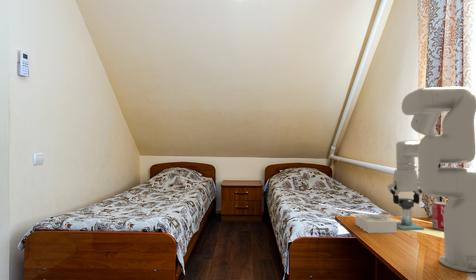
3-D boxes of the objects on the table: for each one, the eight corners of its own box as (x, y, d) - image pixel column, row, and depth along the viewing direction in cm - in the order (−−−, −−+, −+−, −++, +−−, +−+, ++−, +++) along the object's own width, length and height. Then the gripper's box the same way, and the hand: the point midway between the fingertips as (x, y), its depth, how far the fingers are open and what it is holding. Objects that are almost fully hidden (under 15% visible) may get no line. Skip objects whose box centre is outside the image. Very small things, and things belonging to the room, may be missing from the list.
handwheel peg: (409, 222, 144) (408, 198, 144) (417, 226, 137) (416, 200, 138) (396, 223, 144) (395, 198, 144) (403, 226, 137) (403, 200, 137)
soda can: (453, 229, 136) (453, 203, 136) (446, 232, 132) (446, 205, 132) (436, 225, 142) (435, 200, 142) (429, 228, 138) (429, 202, 138)
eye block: (396, 232, 132) (396, 221, 132) (367, 233, 131) (367, 221, 132) (381, 224, 145) (381, 214, 145) (355, 225, 144) (355, 214, 145)
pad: (423, 229, 136) (423, 227, 136) (402, 230, 135) (402, 227, 135) (410, 223, 146) (410, 221, 146) (390, 224, 145) (390, 222, 145)
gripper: (418, 166, 145) (419, 201, 144) (383, 166, 144) (384, 202, 144) (428, 167, 137) (429, 204, 137) (391, 168, 137) (392, 205, 136)
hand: (406, 203), depth 140 cm, fingers open, 9 cm apart
